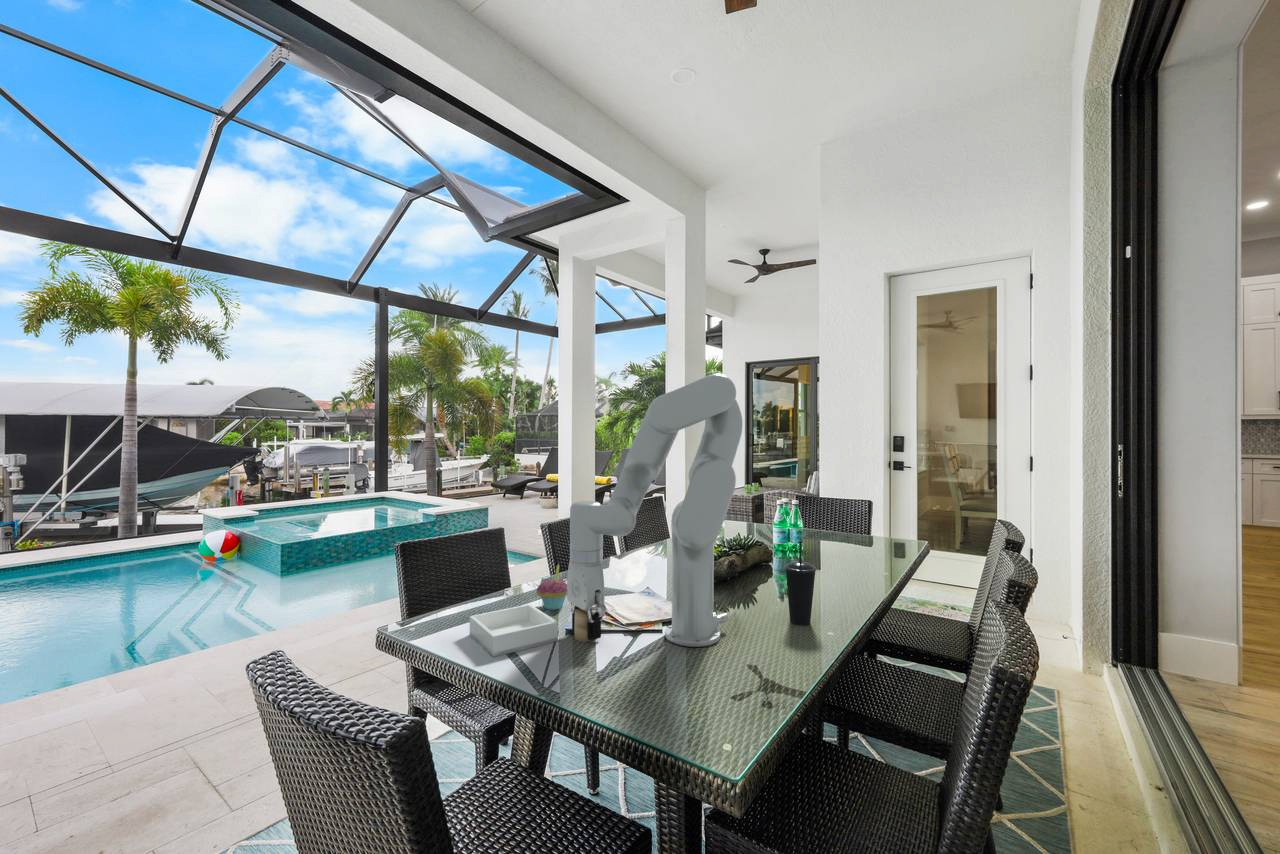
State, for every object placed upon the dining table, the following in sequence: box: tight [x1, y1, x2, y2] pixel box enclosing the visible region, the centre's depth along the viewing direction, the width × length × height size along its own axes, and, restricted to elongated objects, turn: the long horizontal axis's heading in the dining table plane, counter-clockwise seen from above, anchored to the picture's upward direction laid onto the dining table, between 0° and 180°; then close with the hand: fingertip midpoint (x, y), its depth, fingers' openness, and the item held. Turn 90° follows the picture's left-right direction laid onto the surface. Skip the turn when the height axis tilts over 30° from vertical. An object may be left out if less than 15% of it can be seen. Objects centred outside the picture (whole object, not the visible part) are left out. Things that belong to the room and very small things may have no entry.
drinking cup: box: [783, 540, 817, 626], centre depth 138 cm, size 8×8×20 cm
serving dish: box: [469, 603, 559, 658], centre depth 127 cm, size 15×15×4 cm
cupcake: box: [536, 562, 567, 610], centre depth 148 cm, size 9×8×12 cm
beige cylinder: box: [573, 608, 596, 643], centre depth 128 cm, size 5×5×6 cm
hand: (586, 633), depth 128 cm, fingers open, 6 cm apart
